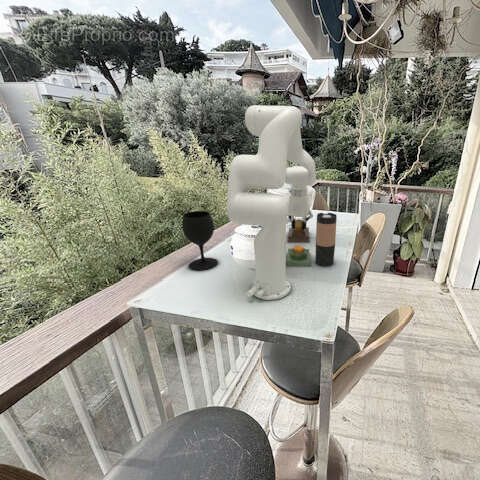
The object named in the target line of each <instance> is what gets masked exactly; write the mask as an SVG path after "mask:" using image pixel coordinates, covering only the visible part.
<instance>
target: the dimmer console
mask: <svg viewBox="0 0 480 480" xmlns="http://www.w3.org/2000/svg"><path fill="white" fill-rule="evenodd" d="M290 227H291V228H289V227H288V235H287V243H310V230H309V229H310V227H309V226H306V228H305V230H303V231H301V232H297V231H295V229H292V226H290Z"/></svg>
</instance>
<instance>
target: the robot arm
mask: <svg viewBox="0 0 480 480" xmlns="http://www.w3.org/2000/svg"><path fill="white" fill-rule="evenodd" d="M302 121H303V114H302V112H301V109H300V108H298V107H297V106H295V105H262V104H261V105H257V104H255V105H254V104H253V105H250V106H249V107H247V109H246V111H245V113H244V123H245V126H246V129H247V130H248V132H249V133H250V134H252V135H253V136H255V137H258V148H257V153H256V154H238V155H236V156H234V158H232V160H231V162H230V165H229V169H228V180H227V181H228V183H227V198H226V214H227V218H228V220H229V221H230V222H231V223H233V224H237V225H244V226H256V227H261V229H260V230H259V231H258V232H257V233H256V234H255V236H254V239H253V249H254V252H253V253H254V267H255V268H254V269H255V280H254V281H253V284H252V286H251V288H250V289H249V290H247V291H246V292H245V294H246V297H248V298H251V297H252V296H254V297H256V298H257V299H260V300H264V301H265V300H266V301H267V300H268V301H274V300H278V299H281V298H284V297H285V296H287V295H288V294H289V293H290V292H291V289H292V285H291V283H290V282H289V281H288V280H287V253H286V252H287V250H286V249H287V248H286V245H287V244H286V238H287V237H286V234H287V233H286V231H287V222H288V219H289V220H290V222H291V227H292V229H295V220H296V218H302V220H303V223H302V230H305V228H306V227H307V222H308V221H309V220H310V219H312V218H313V217H314V214H313V213H312V211H311V208H310V198H309V195H308V186H309V187H310V186H313V185H314V184H315V183H316V180H317V172H316V162H315V161H314V158H313V157H312V156H311V155H310V154H309V152H307V151H306V150H305V149H304V148H303V141H302V133H301V132H302V131H301V125H302ZM288 161H289V162H291V163H294V164H296V165H294V166H289V167H287V166H288ZM285 184H286V185H290V186H291V188H290V189H288V193H289V194H290V195H289V197H288V200H287V199H286V198H285V197H284V196H283V195H281V194H277V193H268V192H249V189H257V190H279V189H282V187H283V186H284V185H285ZM288 215H289V217H287V216H288ZM291 216H292V217H291ZM294 216H295V219H294Z"/></svg>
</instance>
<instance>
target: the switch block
mask: <svg viewBox="0 0 480 480" xmlns="http://www.w3.org/2000/svg"><path fill="white" fill-rule="evenodd" d="M310 254H311V253H310V248H305V247H304V251H303V252H302V253H295V252H294V247H292V248H288V249H287V253H286V267H310V266H311V256H310Z"/></svg>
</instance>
